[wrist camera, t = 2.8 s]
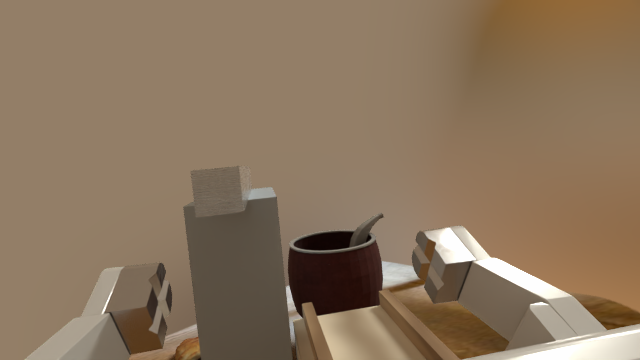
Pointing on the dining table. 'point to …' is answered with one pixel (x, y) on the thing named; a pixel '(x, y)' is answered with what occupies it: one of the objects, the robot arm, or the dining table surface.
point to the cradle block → (367, 334)
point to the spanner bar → (221, 190)
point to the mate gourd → (336, 269)
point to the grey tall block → (239, 281)
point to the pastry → (188, 350)
